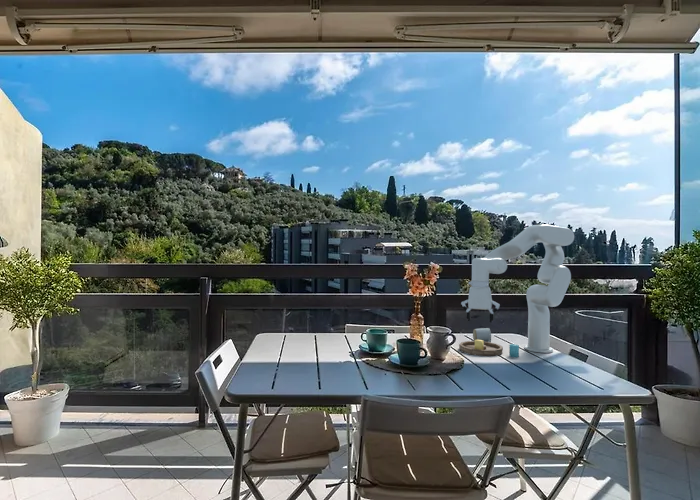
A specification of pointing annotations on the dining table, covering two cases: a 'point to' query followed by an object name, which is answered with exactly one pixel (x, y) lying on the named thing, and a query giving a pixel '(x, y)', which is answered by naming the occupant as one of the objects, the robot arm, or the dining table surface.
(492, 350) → the groove tray
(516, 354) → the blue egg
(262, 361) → the dining table surface
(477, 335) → the ceramic mug
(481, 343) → the ochre bead
